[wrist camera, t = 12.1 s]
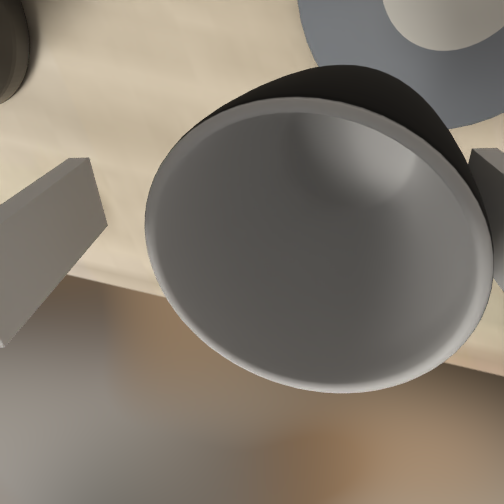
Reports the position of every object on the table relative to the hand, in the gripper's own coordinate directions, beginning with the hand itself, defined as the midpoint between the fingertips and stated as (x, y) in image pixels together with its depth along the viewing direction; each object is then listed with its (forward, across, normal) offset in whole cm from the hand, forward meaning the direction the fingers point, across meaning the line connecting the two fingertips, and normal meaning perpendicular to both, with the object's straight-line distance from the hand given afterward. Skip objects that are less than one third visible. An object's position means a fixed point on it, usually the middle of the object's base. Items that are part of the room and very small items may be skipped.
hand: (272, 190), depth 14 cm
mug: (+5, +3, -2) cm, 6 cm away
